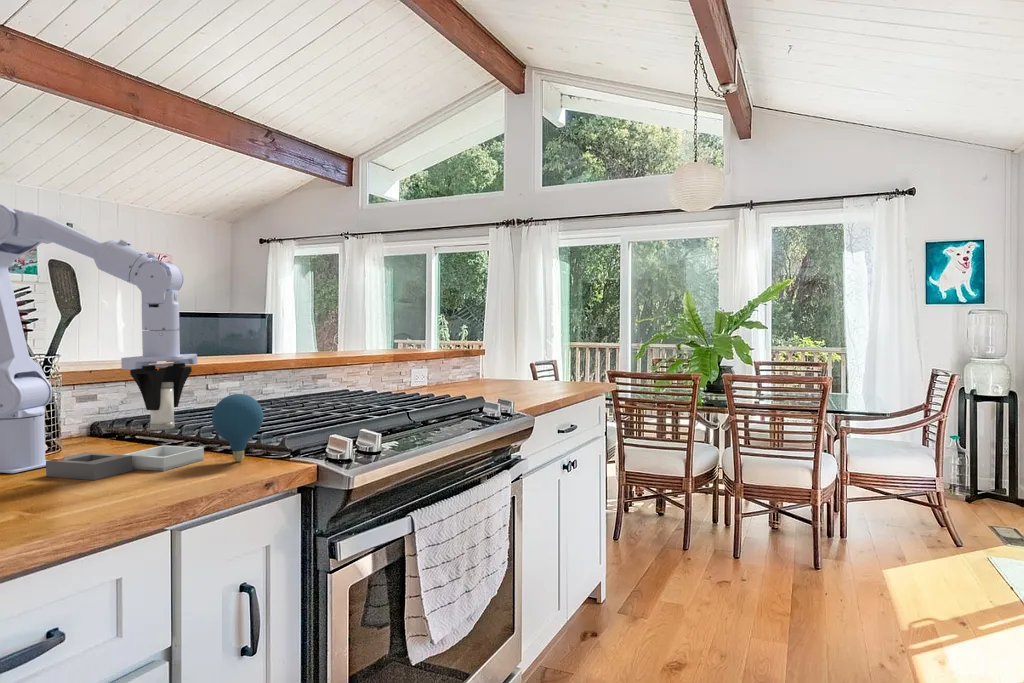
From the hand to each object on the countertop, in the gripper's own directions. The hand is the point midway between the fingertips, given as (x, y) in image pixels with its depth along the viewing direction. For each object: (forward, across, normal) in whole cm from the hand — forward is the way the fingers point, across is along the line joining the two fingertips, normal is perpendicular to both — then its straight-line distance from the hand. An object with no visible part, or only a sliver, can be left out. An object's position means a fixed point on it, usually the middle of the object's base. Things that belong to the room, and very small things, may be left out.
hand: (162, 408), depth 112 cm
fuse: (+3, 0, 0) cm, 3 cm away
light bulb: (+10, +5, -12) cm, 16 cm away
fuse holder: (+10, -9, +6) cm, 15 cm away
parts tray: (+10, 0, 0) cm, 10 cm away
